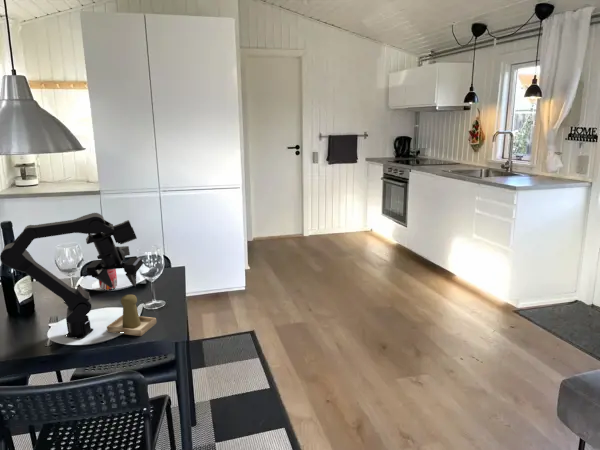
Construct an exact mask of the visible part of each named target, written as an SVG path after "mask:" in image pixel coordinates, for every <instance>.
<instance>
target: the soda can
mask: <svg viewBox="0 0 600 450" xmlns="http://www.w3.org/2000/svg"><path fill="white" fill-rule="evenodd" d="M107 272H108V275H109V277H110V279H111V282H112V285H113V286H112V288H114V289H116V288H117V287H118V277H117V269H110V270H107ZM98 285H99V289H100V290H103V289H105V290H104V291H106V290H107V291H110V290H109V289H112V288H110V287H109V286H107V285H106V284H104V283H103V282H101V281H100V280H98ZM112 290H113V289H112Z"/></svg>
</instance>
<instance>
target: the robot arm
mask: <svg viewBox="0 0 600 450" xmlns="http://www.w3.org/2000/svg"><path fill="white" fill-rule="evenodd" d="M134 230H135V229H134V227H133V226H132V224H131V221H130V220H125V221H123V222H121V223H118V224H115V225H114V224H113V223H111V222H110V221H107V220H106V219H105V218H104V216H103V215H102V214H101V213H98V212H92V213H91V212H90V213H88V214H86V215H82V216H79V217H77V218H75V219H70V220H61V221H55V222H48V223H41V224H40V223H39V224H29V225H26V226H25V227H24V228H23V230H22V232H21V233H20V234H19V235H18V236H17V237H16V239H14V240H13V242H11V243H8V244H6V245H5V246H4V247H3V248H2V251H1V253H0V262H1V263H2V264H3V265H4V266H6V267H9V268H10V269H13V270H16V271H18V272H22V273H25V274H27V275H28V276H29V277H31V278H32V279H34V280H35V281H37V282H38V283H39V284H40V285H42V286H44V287H45V288H46V289H48V290H49V291H51V292H52V293H53V294H55V295H56V296H58V297H59V298H60V299H61V300H62V301H63V302H64V303H65V305H66V306H67V308H66V317H65V320H66V328H67V333H66V334H65V335H64V337H65V336H66V335H67V337H66V338H70V339H76V340H77V339H79V340H81V339H83V338H85V337H86V336H87V335H90V333H92V332H93V331H94V328H91V321H90V319H89V315H88V314H89V313H90V312H91V310H92V297H91V295H90V291H87V290H84V288H83V287H82V286H81V285H79V286H78V287H77V288H74V287H71V286H70V285H68V284H67V283H66V282H64V281H63V280H61V279H60V278H59V277H57V276H56V275H55V274H53V273H52V272H50V271H49V270H48V269H46V268H45V267H44V266H42V265H41V264H40V263H38V261H36V260H35V259H34V258H33V256H32V255H31V254H30V252H29V251H28V250H27V249H28V248H29V247H30V245H31V244H32V242H33V241H34V240H36V239H43V238H48V237H49V238H50V237H56V236H62V235H70V234H83V235H85V234H86V235H87V234H88V235H87V237H86V238H85V242H86V244H87V245H89V244H92V243H93V244H94V247H95V248H96V251H97V254H98V255H97V257H96V258H97V259H98V260H93V261H92V262H90V264H89V265H88V266H87V267H86V268H85V269H86V270H85V272H86V274H87V276H88V277H90V276H91V277H92V278H95V279H96V280H98V281H99V280H100V281H101V282H103V283H104V284H106V285H107V286H109V287H110V288H112V286H113V285H112V282H111V279H110V277H109V275H108V272H107V270H110V269H116V270H117V269H118V270H119V269H123V272H124V273H125V277H127V279H128V281H129V282H130V283H131V285H132V286H133V287H136V285H137V273H138V271H139V270H140V268H141V267H142V266H143V264H144V262H143V259H142V258H141V257H140V256H139V257H130V258H129V259H128V260H127V261H125V259H126V257H127V256H130V255H131V253H130V247H129V245H128V246H127V245H125V246H124V244H126V243H129V242H132V241H134V240H137V238H138V237H137V235H136V233H135V231H134ZM112 237H113V238H112ZM113 239H114V240H113ZM114 241H115V242H114ZM115 243H116V244H120V245H123V246H116V244H115Z"/></svg>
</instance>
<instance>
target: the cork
mask: <svg viewBox="0 0 600 450" xmlns="http://www.w3.org/2000/svg"><path fill="white" fill-rule="evenodd" d="M137 303H138V298H137V296H136V295H135V294H125V295H123V296H122V297H121V299H120V304H121V305H122V315H123V325H122V327H123V328H130V329H134V328H137V327H139V326H140V325H141V322H140V319H139V316H140V314H139V312H138V311H139V310H138V307H137Z"/></svg>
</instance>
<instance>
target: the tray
mask: <svg viewBox="0 0 600 450" xmlns="http://www.w3.org/2000/svg"><path fill="white" fill-rule="evenodd" d="M139 319H140V322H141V325H140V326H139V327H137V328H134V329H130V328H123V327H122V325H123V314H122V315H121V316H119V317H118V318H116V319H115V320H114V321H113V322H111V323H110V324H108V325H107V326H106V331H107V333H112V334H113V333H114V334H120V332H124V334H123V335H128V336H137V337H143V335H145V334H146V333H147V332H148V331H150V329H152V328H153V327H154V326H156V325H157V318H156V317H149V316H142V315H141V316H140V315H139Z"/></svg>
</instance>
